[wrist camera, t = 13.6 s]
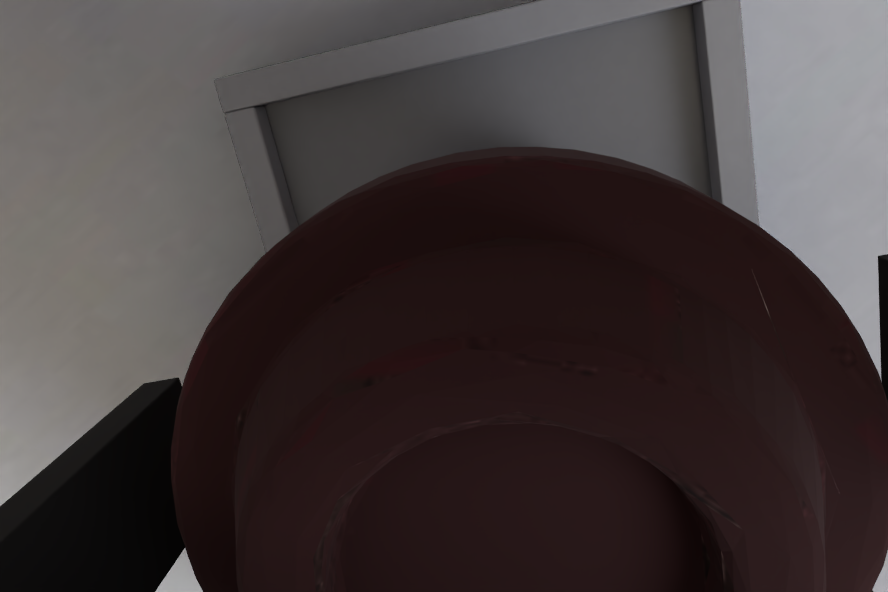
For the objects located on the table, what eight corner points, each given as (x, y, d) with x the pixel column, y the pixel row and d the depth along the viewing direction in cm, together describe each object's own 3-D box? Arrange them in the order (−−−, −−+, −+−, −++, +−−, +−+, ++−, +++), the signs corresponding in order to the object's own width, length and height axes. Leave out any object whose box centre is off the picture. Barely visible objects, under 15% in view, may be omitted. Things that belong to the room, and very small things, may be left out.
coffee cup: (483, 38, 20) (429, -63, 6) (733, 240, 21) (1210, 577, 7) (303, 290, 23) (-32, 640, 9) (531, 454, 24) (571, 1003, 10)
